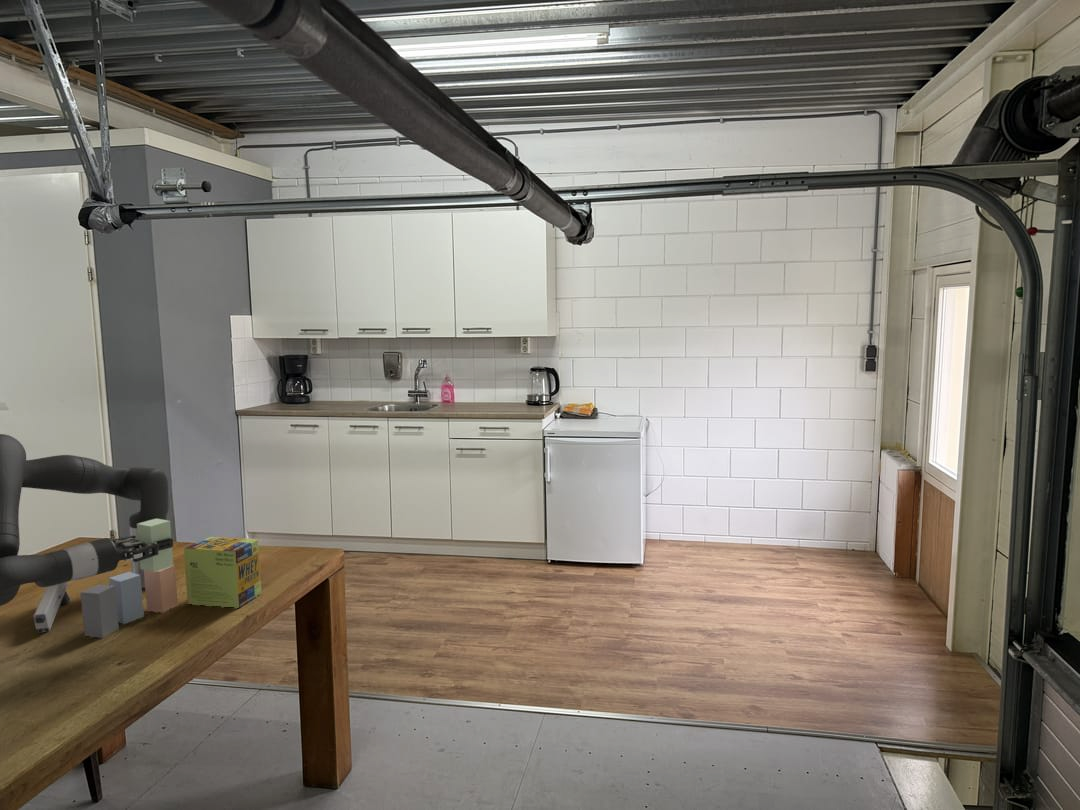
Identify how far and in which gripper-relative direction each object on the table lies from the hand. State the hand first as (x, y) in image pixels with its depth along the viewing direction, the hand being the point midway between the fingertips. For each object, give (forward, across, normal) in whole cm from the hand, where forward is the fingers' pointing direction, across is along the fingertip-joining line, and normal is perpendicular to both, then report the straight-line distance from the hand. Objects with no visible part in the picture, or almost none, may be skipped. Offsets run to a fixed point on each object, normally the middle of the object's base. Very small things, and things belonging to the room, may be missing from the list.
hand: (165, 539), depth 172 cm
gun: (-14, +31, +22) cm, 41 cm away
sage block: (-3, 0, +6) cm, 7 cm away
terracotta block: (+4, +13, +22) cm, 26 cm away
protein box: (+17, +5, +22) cm, 28 cm away
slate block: (-4, +14, +22) cm, 26 cm away
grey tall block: (-11, +11, +22) cm, 27 cm away
